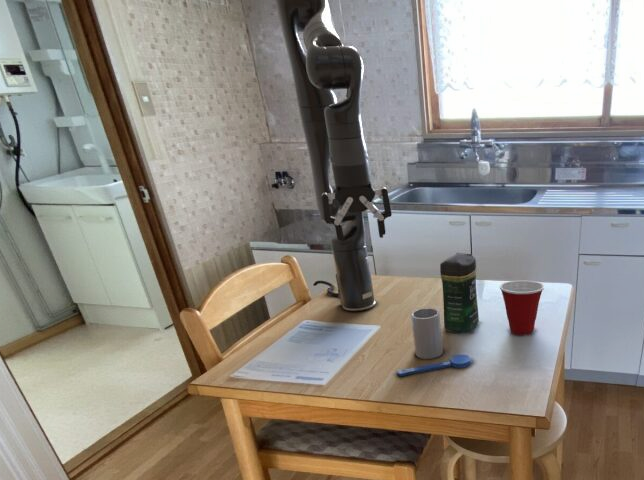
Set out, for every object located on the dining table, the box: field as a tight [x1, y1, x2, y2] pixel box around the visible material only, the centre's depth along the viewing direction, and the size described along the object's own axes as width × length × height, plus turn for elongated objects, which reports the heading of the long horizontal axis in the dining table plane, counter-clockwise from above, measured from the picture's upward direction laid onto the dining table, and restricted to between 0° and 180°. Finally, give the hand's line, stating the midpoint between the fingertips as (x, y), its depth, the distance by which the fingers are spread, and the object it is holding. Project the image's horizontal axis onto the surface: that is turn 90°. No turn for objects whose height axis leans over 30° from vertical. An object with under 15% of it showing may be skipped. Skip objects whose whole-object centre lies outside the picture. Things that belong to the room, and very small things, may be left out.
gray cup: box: [410, 307, 444, 360], centre depth 119 cm, size 6×6×10 cm
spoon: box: [396, 353, 472, 377], centre depth 115 cm, size 17×5×1 cm, turn 108°
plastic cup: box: [499, 279, 545, 336], centre depth 127 cm, size 11×11×12 cm
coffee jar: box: [439, 252, 480, 334], centre depth 129 cm, size 10×8×19 cm
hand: (362, 239), depth 116 cm, fingers open, 8 cm apart
